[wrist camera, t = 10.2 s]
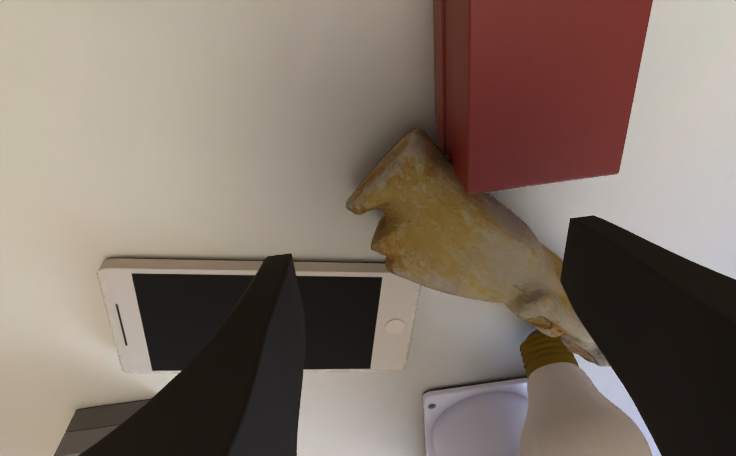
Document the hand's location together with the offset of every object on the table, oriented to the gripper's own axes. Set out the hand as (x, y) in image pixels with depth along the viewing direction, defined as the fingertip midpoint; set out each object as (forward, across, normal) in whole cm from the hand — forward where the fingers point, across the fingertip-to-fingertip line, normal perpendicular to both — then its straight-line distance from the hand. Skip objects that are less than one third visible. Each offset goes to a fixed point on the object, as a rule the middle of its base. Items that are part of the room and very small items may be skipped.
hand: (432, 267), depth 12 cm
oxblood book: (+7, -5, -4) cm, 9 cm away
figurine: (+9, -5, +6) cm, 12 cm away
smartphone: (+10, +7, +9) cm, 15 cm away
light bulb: (+10, -8, +13) cm, 18 cm away
